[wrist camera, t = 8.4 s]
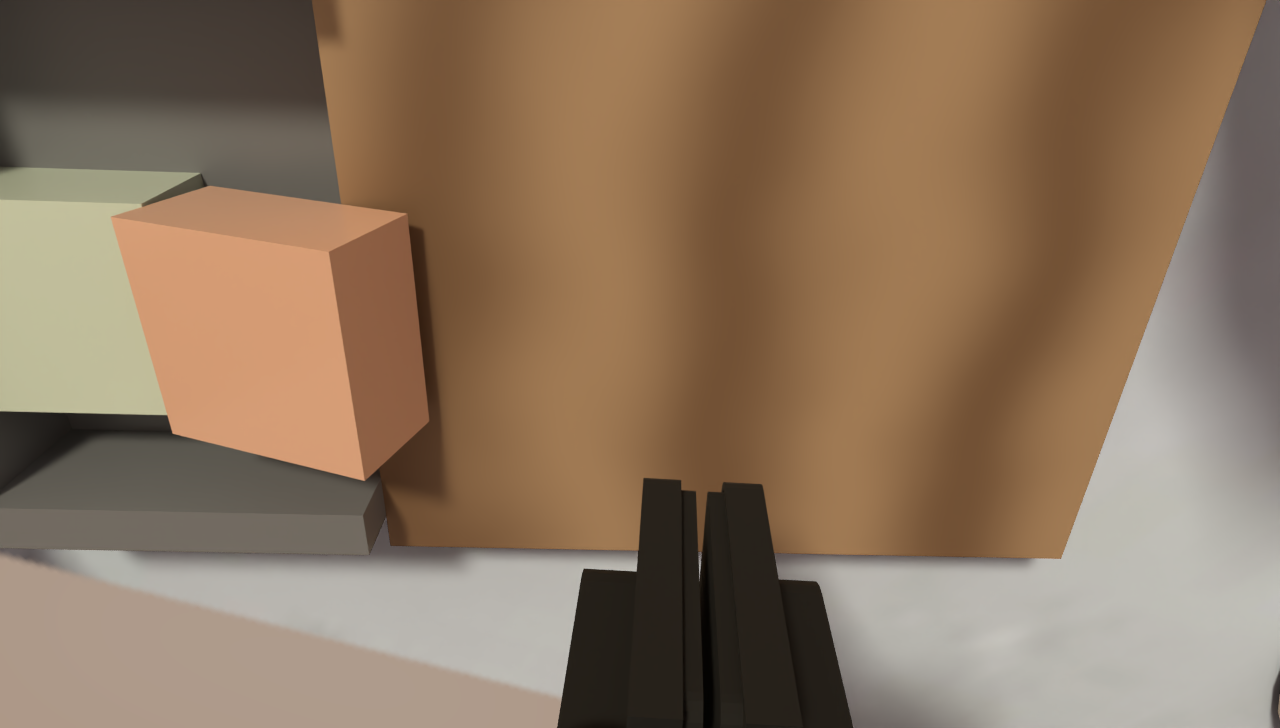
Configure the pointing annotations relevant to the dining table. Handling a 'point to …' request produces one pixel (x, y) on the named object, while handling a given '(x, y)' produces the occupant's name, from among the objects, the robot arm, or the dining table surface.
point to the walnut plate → (774, 253)
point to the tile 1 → (74, 291)
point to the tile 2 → (280, 324)
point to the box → (226, 157)
